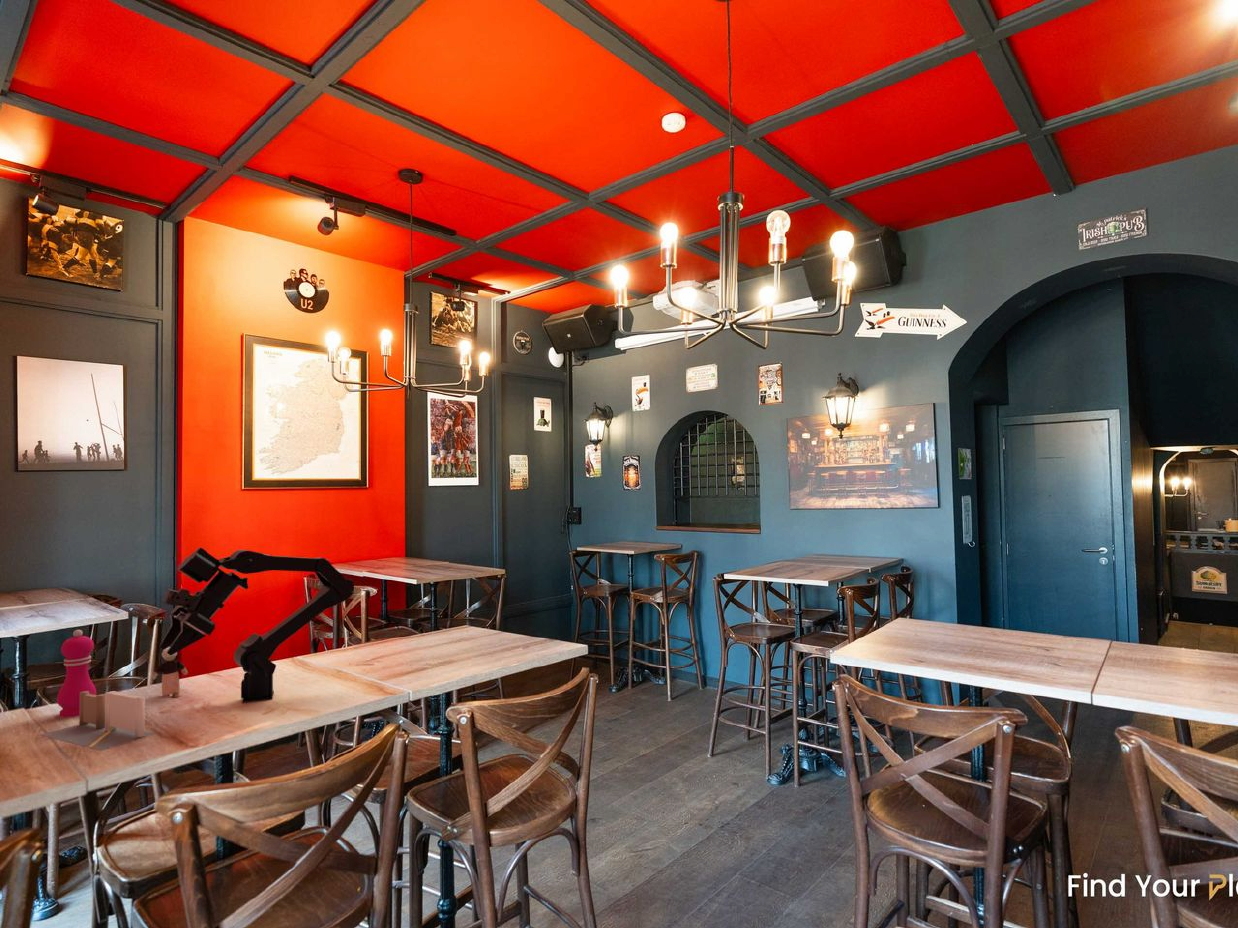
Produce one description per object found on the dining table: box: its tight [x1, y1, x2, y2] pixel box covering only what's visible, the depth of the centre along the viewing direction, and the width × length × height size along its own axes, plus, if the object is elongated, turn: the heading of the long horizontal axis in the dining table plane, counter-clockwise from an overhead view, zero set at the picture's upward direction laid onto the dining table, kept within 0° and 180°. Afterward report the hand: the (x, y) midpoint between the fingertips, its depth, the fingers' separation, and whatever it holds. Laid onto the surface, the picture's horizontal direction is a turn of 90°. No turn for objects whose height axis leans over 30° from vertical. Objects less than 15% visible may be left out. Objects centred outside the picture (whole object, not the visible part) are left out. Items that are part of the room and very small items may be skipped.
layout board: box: [41, 691, 155, 751], centre depth 141 cm, size 23×10×8 cm, turn 64°
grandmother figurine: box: [151, 646, 188, 699], centre depth 171 cm, size 8×4×13 cm, turn 149°
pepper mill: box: [56, 629, 97, 718], centre depth 157 cm, size 7×7×20 cm
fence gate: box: [104, 690, 146, 738], centre depth 141 cm, size 12×2×8 cm, turn 64°
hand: (164, 651), depth 155 cm, fingers open, 9 cm apart
